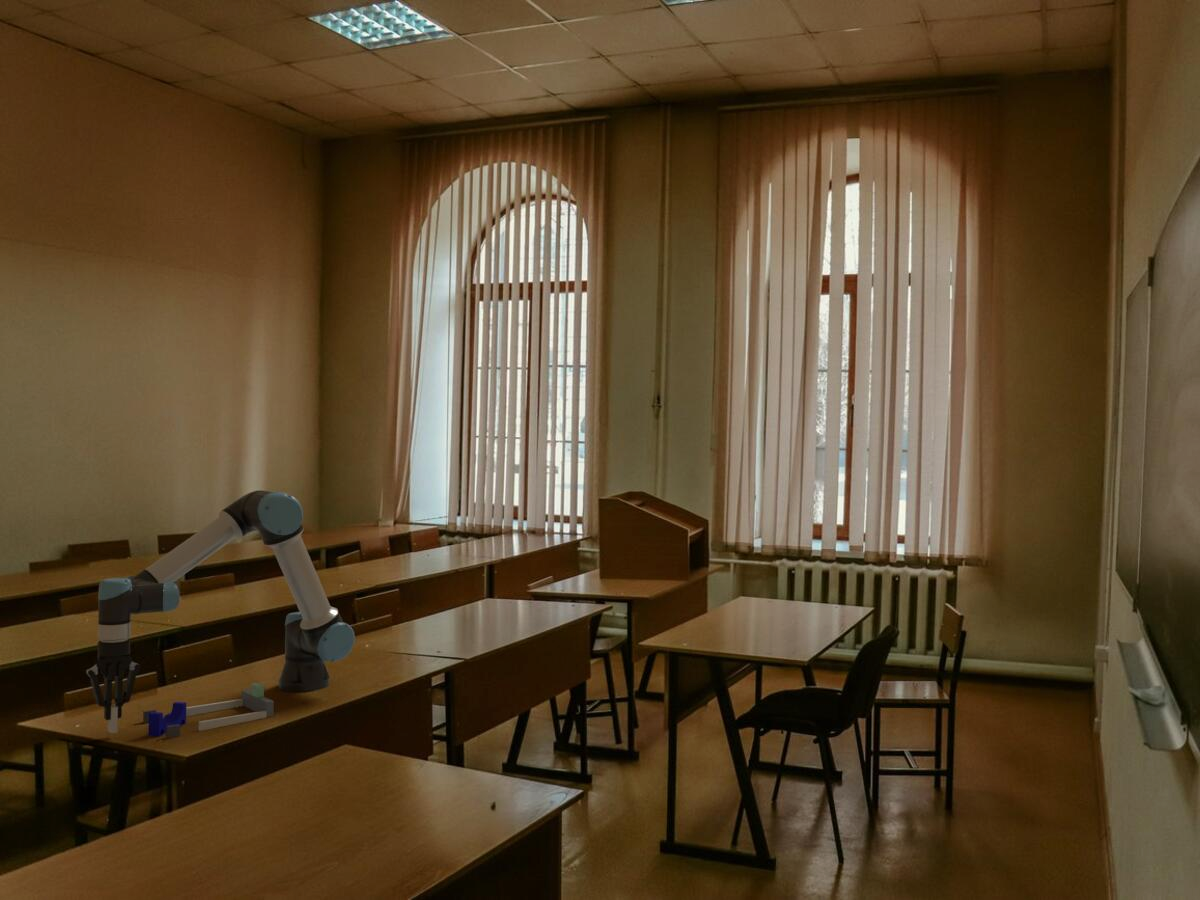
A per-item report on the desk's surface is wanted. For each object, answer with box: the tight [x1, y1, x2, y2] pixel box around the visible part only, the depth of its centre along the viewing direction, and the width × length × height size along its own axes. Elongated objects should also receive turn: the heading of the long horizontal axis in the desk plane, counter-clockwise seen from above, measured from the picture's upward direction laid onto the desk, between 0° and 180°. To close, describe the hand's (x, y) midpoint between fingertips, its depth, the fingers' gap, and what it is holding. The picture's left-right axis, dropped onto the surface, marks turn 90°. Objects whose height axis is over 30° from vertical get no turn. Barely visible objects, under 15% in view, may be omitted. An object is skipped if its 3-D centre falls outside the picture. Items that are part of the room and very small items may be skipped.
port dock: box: [186, 682, 275, 732], centre depth 281 cm, size 20×17×8 cm
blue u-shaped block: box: [147, 701, 187, 738], centre depth 270 cm, size 12×4×6 cm, turn 170°
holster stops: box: [142, 709, 181, 740], centre depth 270 cm, size 3×20×3 cm, turn 41°
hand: (112, 731), depth 262 cm, fingers closed
